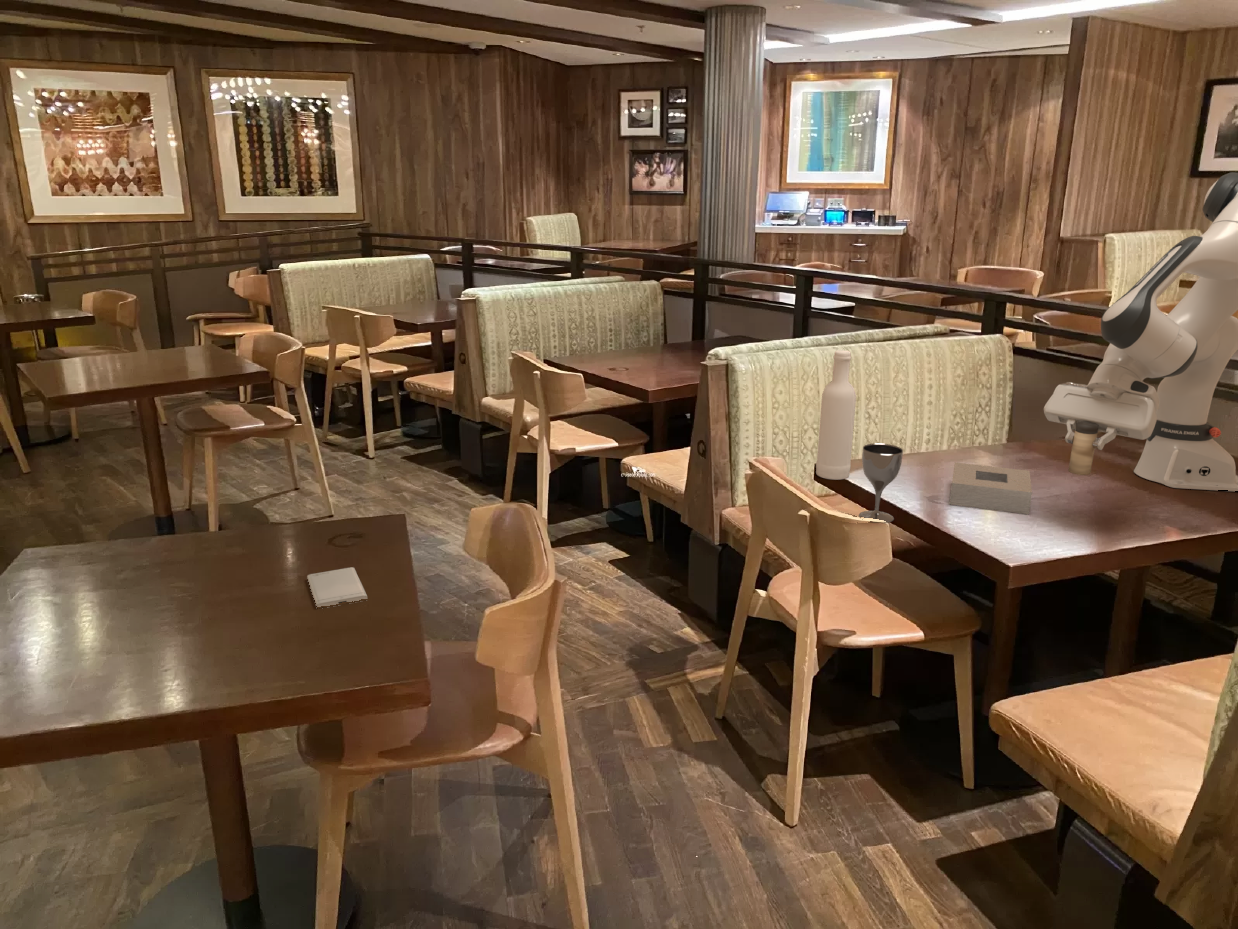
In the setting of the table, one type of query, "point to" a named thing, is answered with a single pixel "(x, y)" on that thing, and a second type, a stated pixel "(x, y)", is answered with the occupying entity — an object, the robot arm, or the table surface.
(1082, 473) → the plug
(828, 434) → the bottle
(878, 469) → the wine glass
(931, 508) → the table surface
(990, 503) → the housing
